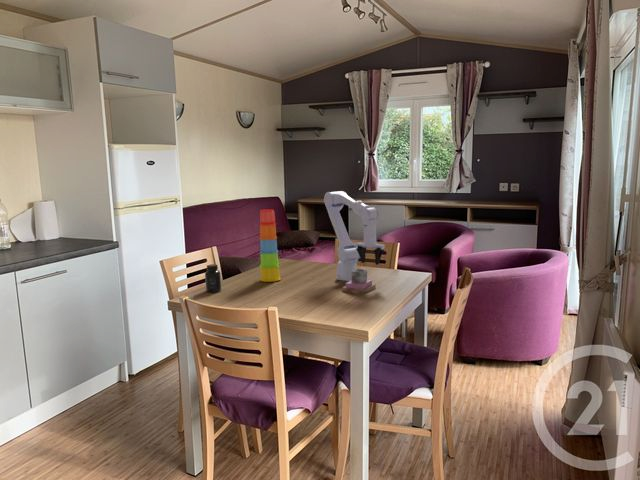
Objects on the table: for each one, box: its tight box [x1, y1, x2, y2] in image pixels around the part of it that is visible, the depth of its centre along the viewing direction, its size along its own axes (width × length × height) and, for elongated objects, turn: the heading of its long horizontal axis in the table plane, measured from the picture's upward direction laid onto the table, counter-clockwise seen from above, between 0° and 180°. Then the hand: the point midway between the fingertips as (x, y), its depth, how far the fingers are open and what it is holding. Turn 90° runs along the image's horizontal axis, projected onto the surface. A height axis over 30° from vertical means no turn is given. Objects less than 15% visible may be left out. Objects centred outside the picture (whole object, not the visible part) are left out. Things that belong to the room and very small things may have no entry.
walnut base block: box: [341, 283, 376, 295], centre depth 219 cm, size 10×12×2 cm
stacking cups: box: [259, 209, 282, 283], centre depth 237 cm, size 10×10×35 cm
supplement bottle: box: [204, 263, 222, 294], centre depth 221 cm, size 7×7×12 cm
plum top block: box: [345, 279, 373, 290], centre depth 218 cm, size 8×10×2 cm
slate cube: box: [352, 268, 368, 283], centre depth 218 cm, size 5×5×5 cm
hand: (370, 263), depth 224 cm, fingers open, 7 cm apart
